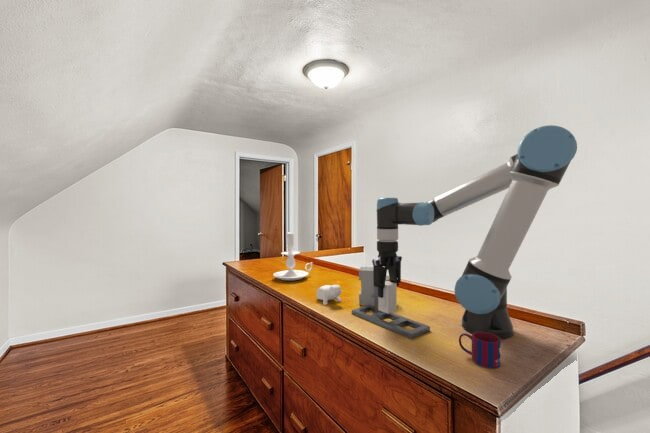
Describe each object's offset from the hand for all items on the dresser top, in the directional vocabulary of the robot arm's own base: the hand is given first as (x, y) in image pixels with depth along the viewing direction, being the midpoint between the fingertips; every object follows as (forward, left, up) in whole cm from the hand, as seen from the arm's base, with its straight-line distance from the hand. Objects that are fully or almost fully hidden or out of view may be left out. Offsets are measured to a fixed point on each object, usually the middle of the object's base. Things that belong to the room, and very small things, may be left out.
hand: (387, 304), depth 106 cm
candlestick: (+78, -7, -7) cm, 79 cm away
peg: (0, 0, -2) cm, 2 cm away
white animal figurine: (+31, +3, -7) cm, 32 cm away
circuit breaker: (+17, -12, -7) cm, 22 cm away
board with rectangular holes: (0, 0, -6) cm, 6 cm away
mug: (-33, +1, -7) cm, 34 cm away
